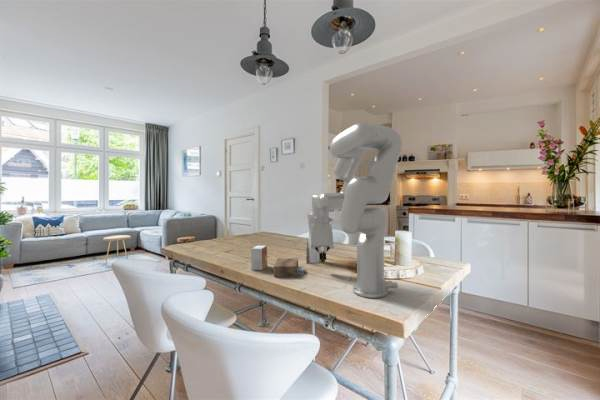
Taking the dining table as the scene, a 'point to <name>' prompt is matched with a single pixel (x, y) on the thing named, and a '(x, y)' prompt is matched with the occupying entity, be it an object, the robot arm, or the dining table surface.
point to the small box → (258, 257)
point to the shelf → (286, 268)
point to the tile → (300, 270)
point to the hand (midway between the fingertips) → (323, 261)
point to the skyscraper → (310, 252)
